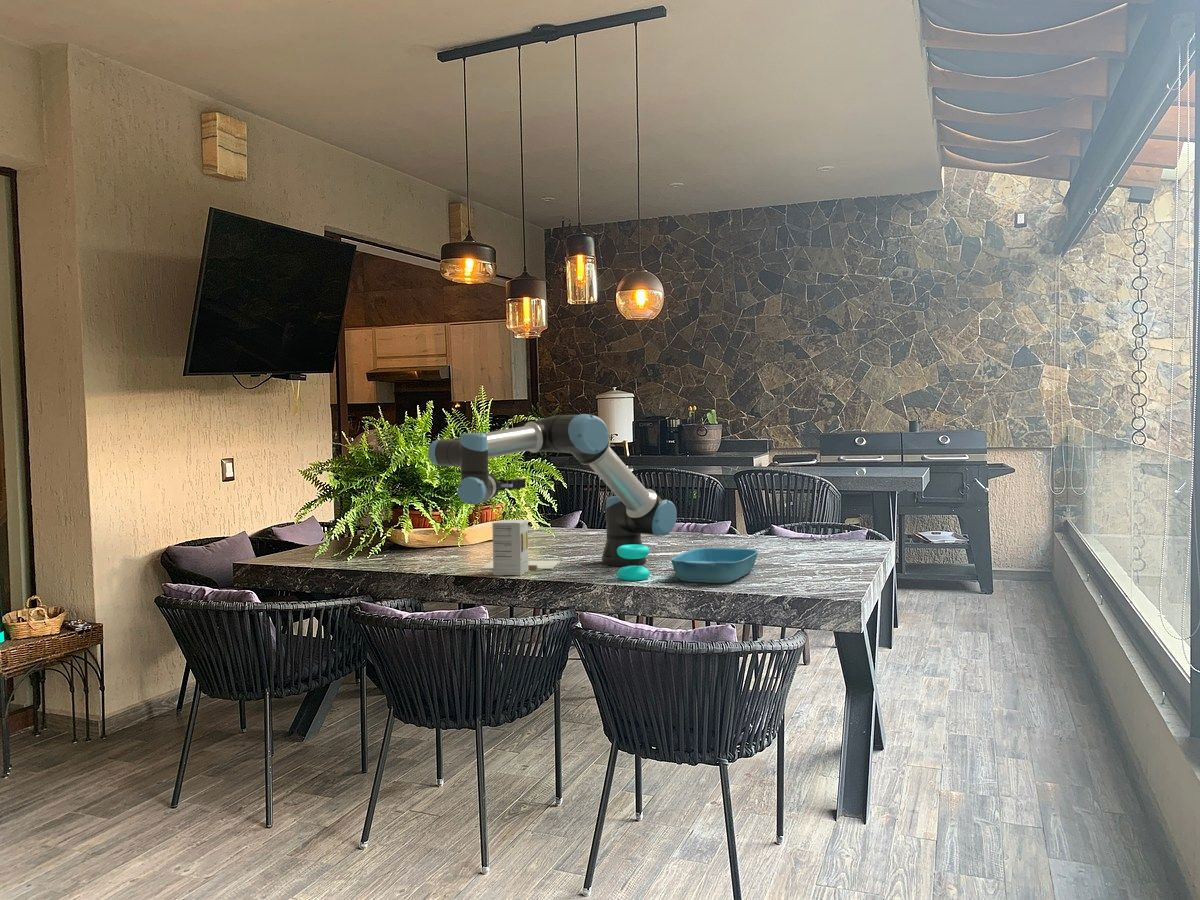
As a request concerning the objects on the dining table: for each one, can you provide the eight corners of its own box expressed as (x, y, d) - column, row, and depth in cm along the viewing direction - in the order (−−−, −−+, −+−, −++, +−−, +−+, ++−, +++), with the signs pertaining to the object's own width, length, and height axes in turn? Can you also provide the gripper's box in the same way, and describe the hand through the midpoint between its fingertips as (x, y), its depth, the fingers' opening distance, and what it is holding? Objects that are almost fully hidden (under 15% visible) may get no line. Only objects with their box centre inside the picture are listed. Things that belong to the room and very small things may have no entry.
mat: (560, 562, 322) (560, 557, 322) (551, 570, 305) (551, 565, 305) (491, 562, 325) (491, 557, 325) (479, 570, 308) (479, 565, 308)
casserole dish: (698, 565, 311) (698, 544, 311) (765, 568, 303) (764, 546, 302) (661, 584, 278) (661, 560, 277) (735, 588, 269) (735, 564, 269)
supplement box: (520, 576, 295) (519, 522, 294) (492, 575, 297) (491, 522, 296) (529, 571, 304) (528, 519, 304) (501, 570, 306) (500, 519, 305)
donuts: (644, 548, 281) (612, 547, 284) (645, 582, 281) (613, 580, 284) (653, 544, 290) (622, 543, 293) (653, 576, 291) (622, 575, 294)
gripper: (444, 500, 269) (465, 494, 291) (524, 500, 266) (539, 493, 288) (444, 474, 269) (465, 469, 291) (523, 473, 266) (538, 469, 288)
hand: (502, 481), depth 290 cm, fingers open, 11 cm apart
